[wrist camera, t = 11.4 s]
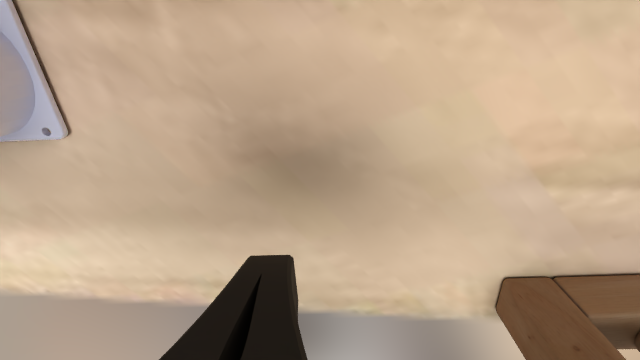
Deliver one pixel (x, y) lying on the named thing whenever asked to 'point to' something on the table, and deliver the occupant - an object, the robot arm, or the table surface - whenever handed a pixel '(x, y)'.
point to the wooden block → (572, 316)
